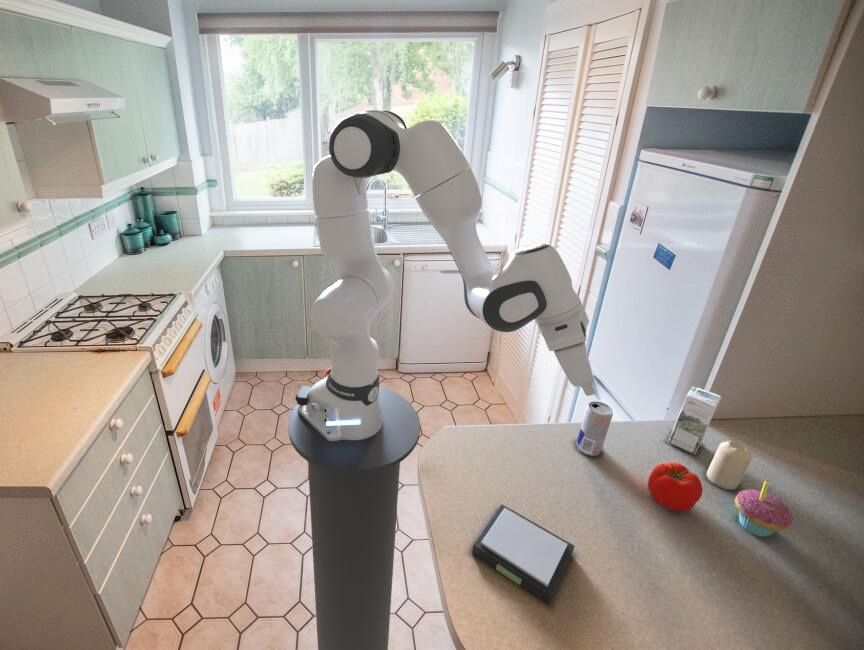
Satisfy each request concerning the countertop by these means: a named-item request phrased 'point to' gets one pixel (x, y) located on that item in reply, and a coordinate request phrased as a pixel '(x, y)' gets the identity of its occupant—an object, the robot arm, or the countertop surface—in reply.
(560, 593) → the countertop surface
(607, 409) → the energy drink
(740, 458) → the candle
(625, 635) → the countertop surface
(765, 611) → the countertop surface
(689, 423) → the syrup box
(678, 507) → the tomato
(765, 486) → the cupcake
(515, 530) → the scale
